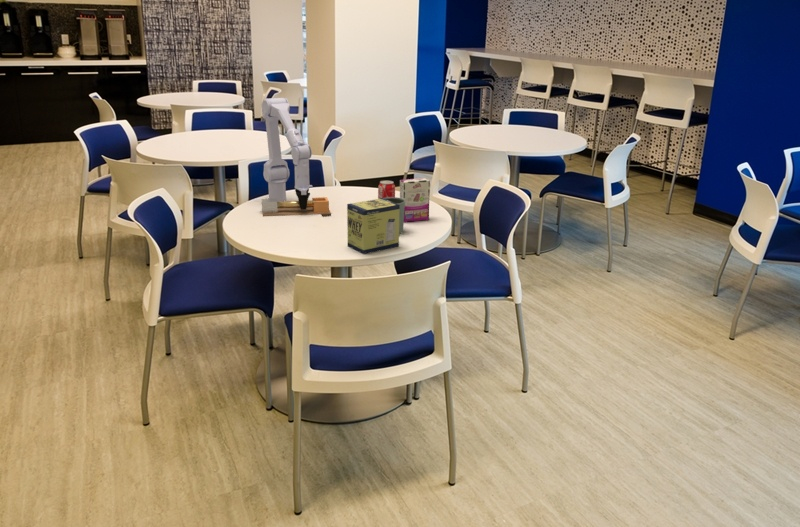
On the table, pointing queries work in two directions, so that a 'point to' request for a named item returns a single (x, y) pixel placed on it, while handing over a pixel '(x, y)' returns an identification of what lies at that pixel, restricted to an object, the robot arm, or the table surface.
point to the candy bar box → (415, 199)
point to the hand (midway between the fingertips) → (302, 207)
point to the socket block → (321, 204)
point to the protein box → (373, 225)
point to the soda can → (386, 189)
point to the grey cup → (401, 212)
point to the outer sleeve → (269, 206)
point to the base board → (297, 212)
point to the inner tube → (293, 204)
